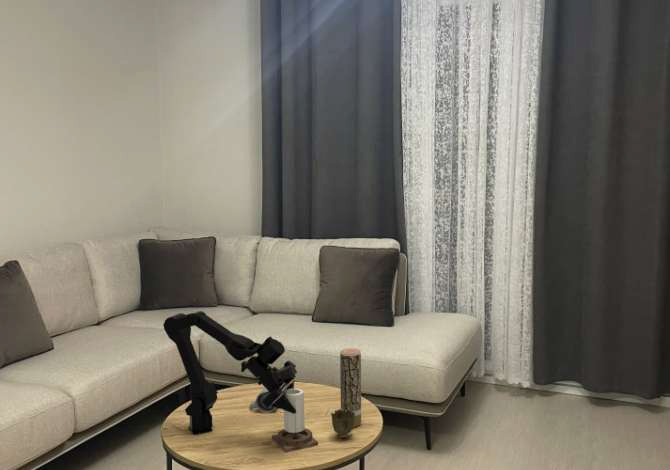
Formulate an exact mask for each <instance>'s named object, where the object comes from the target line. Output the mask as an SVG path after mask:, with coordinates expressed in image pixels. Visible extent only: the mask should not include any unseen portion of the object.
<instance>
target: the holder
mask: <svg viewBox="0 0 670 470" xmlns="http://www.w3.org/2000/svg"><path fill="white" fill-rule="evenodd" d="M271 438H272V440H273V441H274V443H276V445H278V447H279V448H281V450H282V451H283V452H284V453H288V452H292V451H296V450H302V449H307V448H310V447H315V446H319V442H318V440H317V439H316V438H315V437H313V432H312V431H311V430H310V429H309V428H305V427H304V430H303V431H301V432H297V433H296V432H295V433H290V432H287V431H285V430H284V428H282V429H281V430H279V431H278V432H277V434H274V435H272V436H271Z"/></svg>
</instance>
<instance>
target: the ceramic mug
mask: <svg viewBox="0 0 670 470" xmlns="http://www.w3.org/2000/svg"><path fill="white" fill-rule="evenodd" d="M267 392H268V390H267V389H266V388H265V387H264V388H263V389H262V390H261V391H260V392H259V394H258V395H257V396H256V398H255V400H254V401H253V402H251V403H250V404H249V408H250V410H255V409H258V410H259V412H262V413H264V414H270V413H272V412H274V411H275V409H276V407H273V406H272V407H271V405H272V404H273V403H272V404H271V405H270V406H269V407H268V408H266V407H265V406H264V405H263V399H264V398H265V396H266V395H267Z"/></svg>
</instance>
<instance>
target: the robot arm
mask: <svg viewBox="0 0 670 470" xmlns="http://www.w3.org/2000/svg"><path fill="white" fill-rule="evenodd" d="M163 322H164V323H163V329H164V331H165V333H166V335H167V337H168V338H169V339H170V340H171V341H172V342H173V343H174V344H175V346H176V348H177V351H178V353H179V356H180V360H181V361H182V364H183V367H184V370H185V373H186V375H187V378H188V380H189V385H190V390H189V391H190V392H189V396H190V401H191V403H189V404H188V405H187V406H186V408H185V409H184V411H185V414H186V416H188V417H189V426H188V429H189V431H190V432H191V434H192V433H193V434H192V435H197V434H198V433H199V434H204V433H209V432H212V431H213V415H212V414H211V409H213V408H214V405H215V403H217V400H218V395H217V394H218V393H219V392H218V391H217V389H216V386H215V385H216V384H215V383H214V382H213V381H212V382H210V381H208V380H207V379H206V377H205V374H204V371H203V369H202V367H201V363H200V361H199V358H198V356H197V353H196V351H195V347H194V344H193V342H192V340H191V334H192V327H197V328H198V329H199V330H200V331H203V332H204V333H205V334H207V335H208V336H210V337H211V338H212V339H214V340H215V341H216V342H218V343H220V344H221V345H222V346H224V348H225V350H226V351H227V353H228V355H230V356H231V357H232V358H233V359H234V360H235V361H239V362H241V361H242V362H241V363H240V366H241V369H240V372H241V373H243V372H245V371H246V370H248V371H249V372H250V374H252V375H253V377H254V378H255V379H256V380H257V381H258V382H257V385H259V386H261V385H262V386H263V387H264V389H265V388H266V389H267V390H268V392H267V395H266V396H265V398H264V399H263V405H264V406H265V407H266V408H268V407H269V406H270V405H271V404H272V403H273V404H272V405H271V407H272V406H273V407H276V408H277V409H281V410H283V411H284V410H285V411H288V412H290V413H293V414H295V413H296V412H297V411H296V410H295V408H294V407H293V405H292V404H291V403H290V401H289V400H288V399H287V397H286V391H285V390H287V389H293V388H295V382H296V381H295V380H294V379H295V378H296V374H297V373H298V371H297V369H296V368H297V365H296V364H295V363H294V362H292V361H291V360H287V361H285V362H284V363H283V366H282V367H281V368H279V369H278V368H277V367H276V366H273V367H272V366H271V365H273V364H274V363H275V362H276V361H277V360H278V359H279V358H281V356H282V355H284V353H285V352H286V350H285V349H286V348H285V347H284V345H283V343H282V342H281V341H279V340H278V339H275V338H273V337H272V336H269V337H267V338H266V339H265V340H264V342H262V343H258V342H254V340H252V339H251V338H249V337H247V336H244V335H243V334H242V335H241V334H237V333H234V332H232V331H231V330H229V329H228V328H226V327H225V326H224V325H222V324H220V323H219V322H218V321H216V320H214V319H213V318H212V317H210V316H208V315H207V313H205V312H204V311H202V310H199V311H195V312H191V313H187V314H186V313H185V314H184V312H183V313H182V312H181V313H180V312H179V313H177V314H174V315H171V316H169V317H167V318H165V320H164V321H163ZM256 355H257V356H256ZM248 358H249V359H248ZM246 359H248V360H246ZM245 360H246V361H245ZM284 391H285V392H284ZM276 408H275V409H276ZM199 434H198V435H199Z"/></svg>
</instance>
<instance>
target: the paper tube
mask: <svg viewBox="0 0 670 470" xmlns="http://www.w3.org/2000/svg"><path fill="white" fill-rule="evenodd" d="M361 351H362V350H360V349H358V348H344V349H341V350H340V352H339V354H340V355H339V358H340V359H339V361H340V363H339V364H340V367H339V368H340V370H339V371H340V377H339V378H340V410H342V411H343V410H344V409H345V411H347V410H349V411H350V410H351V411H352V412H354V413H355V415H354V425H353V428H357V427H359V426H360V425H361V424H362V353H361Z"/></svg>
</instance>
